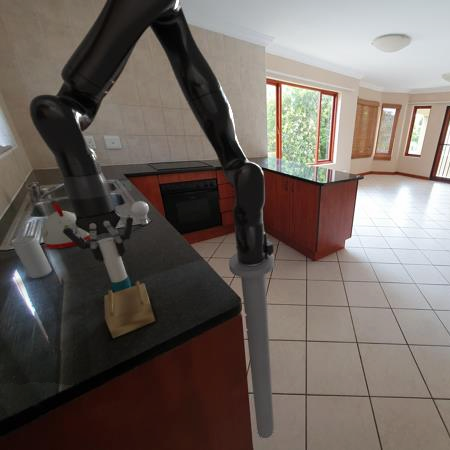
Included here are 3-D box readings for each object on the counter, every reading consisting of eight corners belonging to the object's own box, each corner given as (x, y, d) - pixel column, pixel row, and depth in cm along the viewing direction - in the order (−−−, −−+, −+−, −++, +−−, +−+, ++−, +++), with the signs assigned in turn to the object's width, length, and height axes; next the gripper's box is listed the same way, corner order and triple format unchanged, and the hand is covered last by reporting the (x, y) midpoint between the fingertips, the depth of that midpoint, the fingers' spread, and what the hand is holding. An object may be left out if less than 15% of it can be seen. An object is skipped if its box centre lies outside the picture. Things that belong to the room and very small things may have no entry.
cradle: (149, 300, 62) (143, 279, 59) (155, 321, 55) (148, 299, 53) (111, 313, 57) (102, 292, 55) (113, 338, 51) (103, 315, 48)
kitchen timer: (49, 252, 83) (31, 212, 77) (42, 241, 91) (24, 204, 85) (98, 238, 94) (85, 202, 88) (87, 229, 101) (75, 195, 95)
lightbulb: (141, 228, 103) (134, 204, 98) (133, 225, 105) (126, 202, 101) (155, 223, 108) (150, 200, 103) (147, 221, 110) (141, 198, 106)
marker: (96, 239, 60) (95, 245, 57) (115, 235, 63) (116, 240, 60) (114, 288, 66) (114, 295, 63) (131, 283, 68) (132, 289, 65)
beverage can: (53, 268, 74) (37, 233, 70) (51, 275, 71) (33, 239, 66) (32, 273, 72) (13, 238, 67) (28, 281, 68) (8, 244, 64)
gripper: (44, 202, 48) (74, 273, 55) (127, 192, 56) (145, 254, 63) (49, 194, 53) (77, 259, 60) (125, 185, 61) (141, 244, 68)
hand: (111, 256), depth 62 cm, fingers closed on marker, 3 cm apart
